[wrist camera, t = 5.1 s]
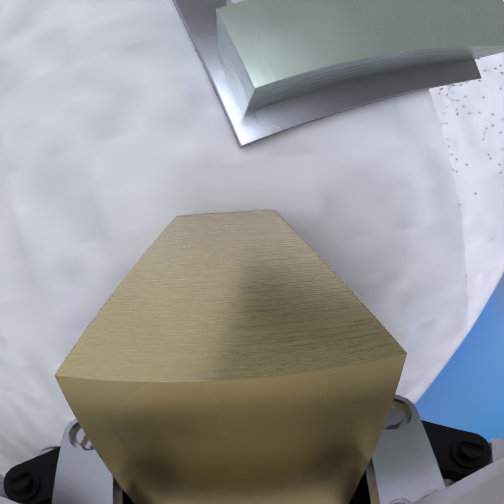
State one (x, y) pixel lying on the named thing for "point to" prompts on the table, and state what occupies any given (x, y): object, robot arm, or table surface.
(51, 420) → the table surface
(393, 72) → the vise
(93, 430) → the brass block
